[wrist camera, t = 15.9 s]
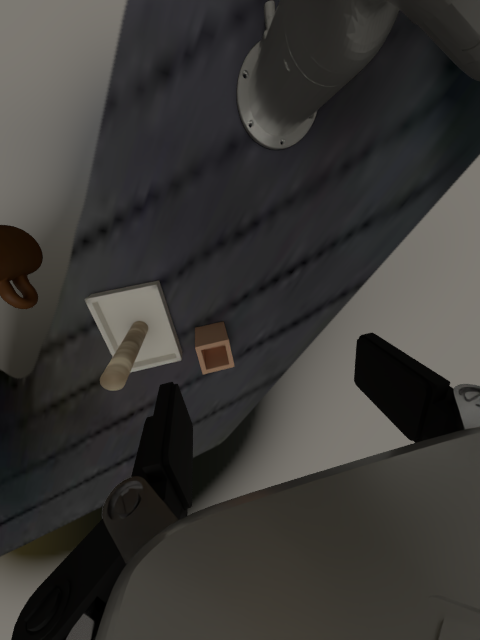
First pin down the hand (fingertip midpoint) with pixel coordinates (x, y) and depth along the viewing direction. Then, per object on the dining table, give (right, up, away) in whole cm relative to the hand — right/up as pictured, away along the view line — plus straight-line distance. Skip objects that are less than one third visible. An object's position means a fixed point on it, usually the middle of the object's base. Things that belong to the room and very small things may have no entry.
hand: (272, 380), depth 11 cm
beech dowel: (-21, +2, +32) cm, 38 cm away
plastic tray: (-21, +2, +33) cm, 39 cm away
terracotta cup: (-7, -1, +37) cm, 38 cm away
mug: (-36, +13, +26) cm, 46 cm away
